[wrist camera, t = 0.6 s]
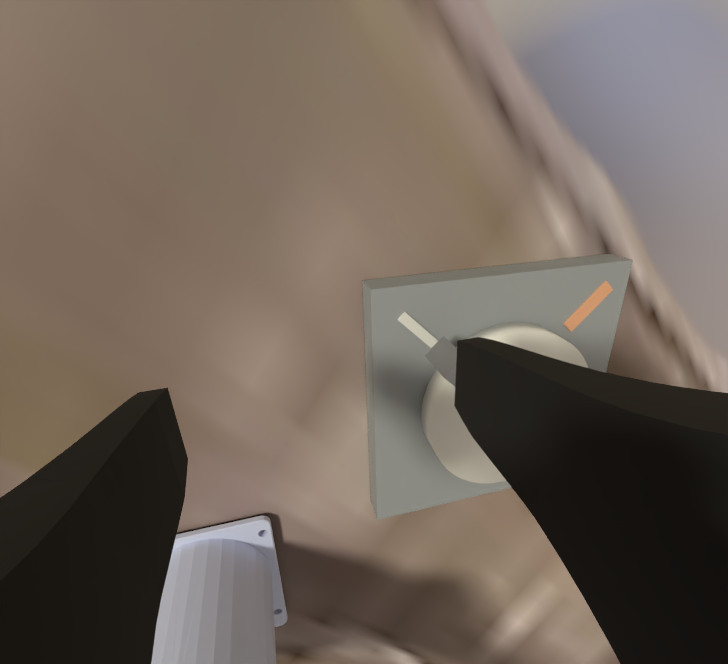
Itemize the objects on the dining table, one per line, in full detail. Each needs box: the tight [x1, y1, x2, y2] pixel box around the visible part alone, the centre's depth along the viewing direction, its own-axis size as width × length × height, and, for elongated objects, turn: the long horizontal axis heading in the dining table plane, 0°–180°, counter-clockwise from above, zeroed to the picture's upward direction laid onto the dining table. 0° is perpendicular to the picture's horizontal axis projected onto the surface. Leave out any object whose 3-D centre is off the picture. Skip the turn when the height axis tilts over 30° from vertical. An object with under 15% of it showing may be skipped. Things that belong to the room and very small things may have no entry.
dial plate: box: [362, 254, 633, 520], centre depth 23 cm, size 14×14×2 cm
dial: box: [421, 322, 588, 484], centre depth 20 cm, size 11×9×4 cm
